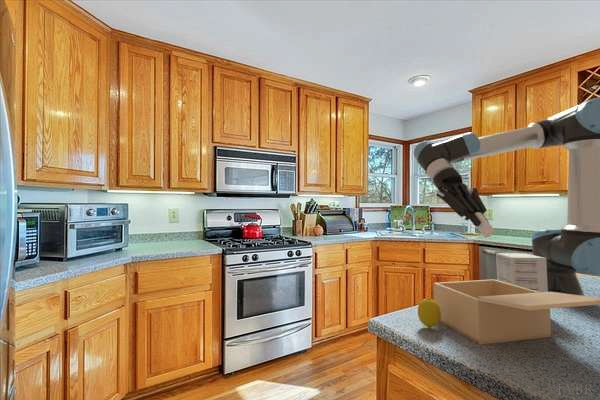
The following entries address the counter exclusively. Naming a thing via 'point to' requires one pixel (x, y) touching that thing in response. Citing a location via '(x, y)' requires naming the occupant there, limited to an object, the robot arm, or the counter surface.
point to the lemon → (429, 312)
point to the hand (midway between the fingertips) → (489, 234)
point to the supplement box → (522, 270)
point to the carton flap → (541, 300)
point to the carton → (489, 312)
